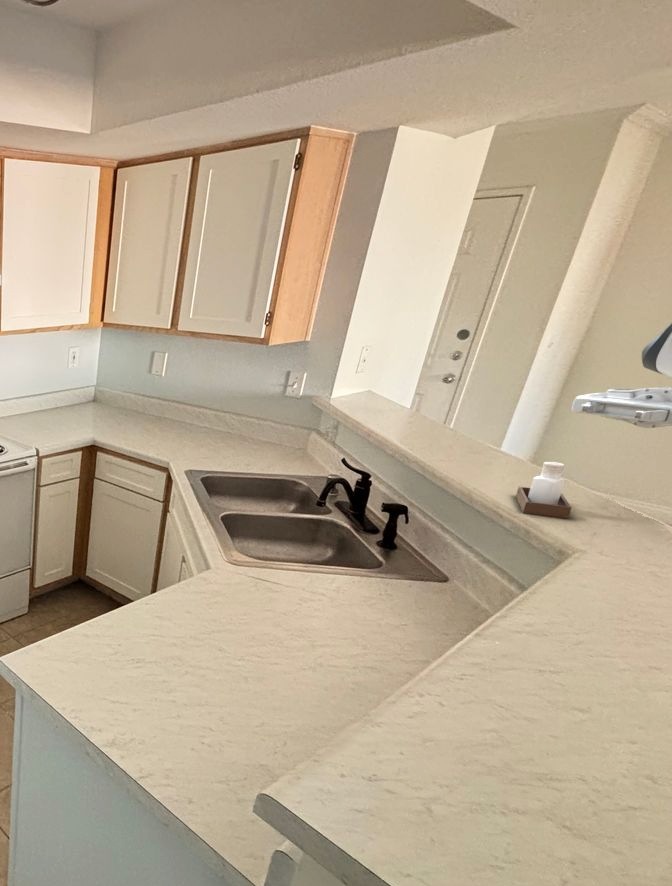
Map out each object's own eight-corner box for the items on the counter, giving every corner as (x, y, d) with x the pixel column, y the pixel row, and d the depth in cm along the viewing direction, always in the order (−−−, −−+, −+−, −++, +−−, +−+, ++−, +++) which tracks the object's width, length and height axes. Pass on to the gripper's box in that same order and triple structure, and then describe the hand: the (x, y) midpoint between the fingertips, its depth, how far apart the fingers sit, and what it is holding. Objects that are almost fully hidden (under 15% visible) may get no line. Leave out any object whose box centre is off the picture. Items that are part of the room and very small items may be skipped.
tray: (515, 496, 137) (518, 486, 136) (557, 501, 133) (560, 491, 132) (522, 512, 127) (526, 501, 127) (568, 518, 123) (571, 507, 123)
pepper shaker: (545, 508, 128) (559, 466, 125) (524, 503, 131) (536, 462, 128) (558, 506, 129) (572, 464, 126) (536, 501, 132) (549, 460, 129)
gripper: (718, 430, 120) (671, 435, 117) (594, 414, 139) (551, 419, 136) (730, 399, 118) (683, 404, 115) (602, 388, 137) (559, 392, 134)
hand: (610, 412), depth 126 cm, fingers open, 8 cm apart
